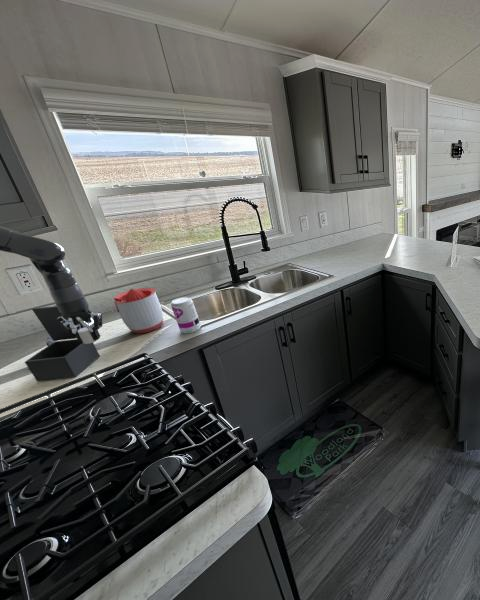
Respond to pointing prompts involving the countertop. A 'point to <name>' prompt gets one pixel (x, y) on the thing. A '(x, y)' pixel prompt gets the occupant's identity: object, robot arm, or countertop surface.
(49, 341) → the eagle figurine
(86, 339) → the cylinder
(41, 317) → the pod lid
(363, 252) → the countertop surface
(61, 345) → the black tray box
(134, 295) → the citrus juicer
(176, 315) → the supplement can
